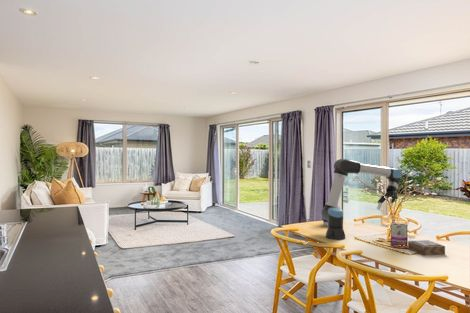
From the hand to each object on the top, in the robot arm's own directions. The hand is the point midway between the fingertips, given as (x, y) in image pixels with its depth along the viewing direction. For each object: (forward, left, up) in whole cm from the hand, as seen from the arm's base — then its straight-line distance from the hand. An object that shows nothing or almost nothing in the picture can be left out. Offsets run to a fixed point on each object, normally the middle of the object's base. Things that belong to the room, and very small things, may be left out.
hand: (384, 207), depth 283 cm
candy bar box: (-4, -26, -24) cm, 36 cm away
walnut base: (+5, -43, -24) cm, 50 cm away
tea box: (-22, +52, -24) cm, 61 cm away
